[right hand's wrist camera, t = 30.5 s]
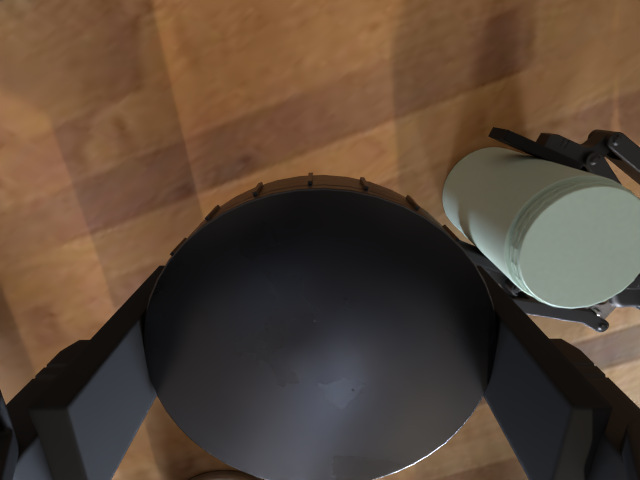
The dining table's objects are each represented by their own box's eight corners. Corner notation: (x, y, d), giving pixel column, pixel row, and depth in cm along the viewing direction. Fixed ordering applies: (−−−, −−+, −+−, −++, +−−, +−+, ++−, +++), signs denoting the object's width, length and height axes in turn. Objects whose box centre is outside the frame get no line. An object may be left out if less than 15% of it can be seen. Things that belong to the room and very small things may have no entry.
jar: (423, 201, 38) (484, 263, 24) (487, 127, 36) (596, 148, 22) (486, 250, 40) (577, 336, 26) (551, 184, 37) (690, 237, 23)
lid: (539, 330, 12) (570, 363, 11) (315, 486, 15) (315, 531, 13) (326, 92, 10) (328, 92, 8) (99, 325, 12) (68, 357, 11)
